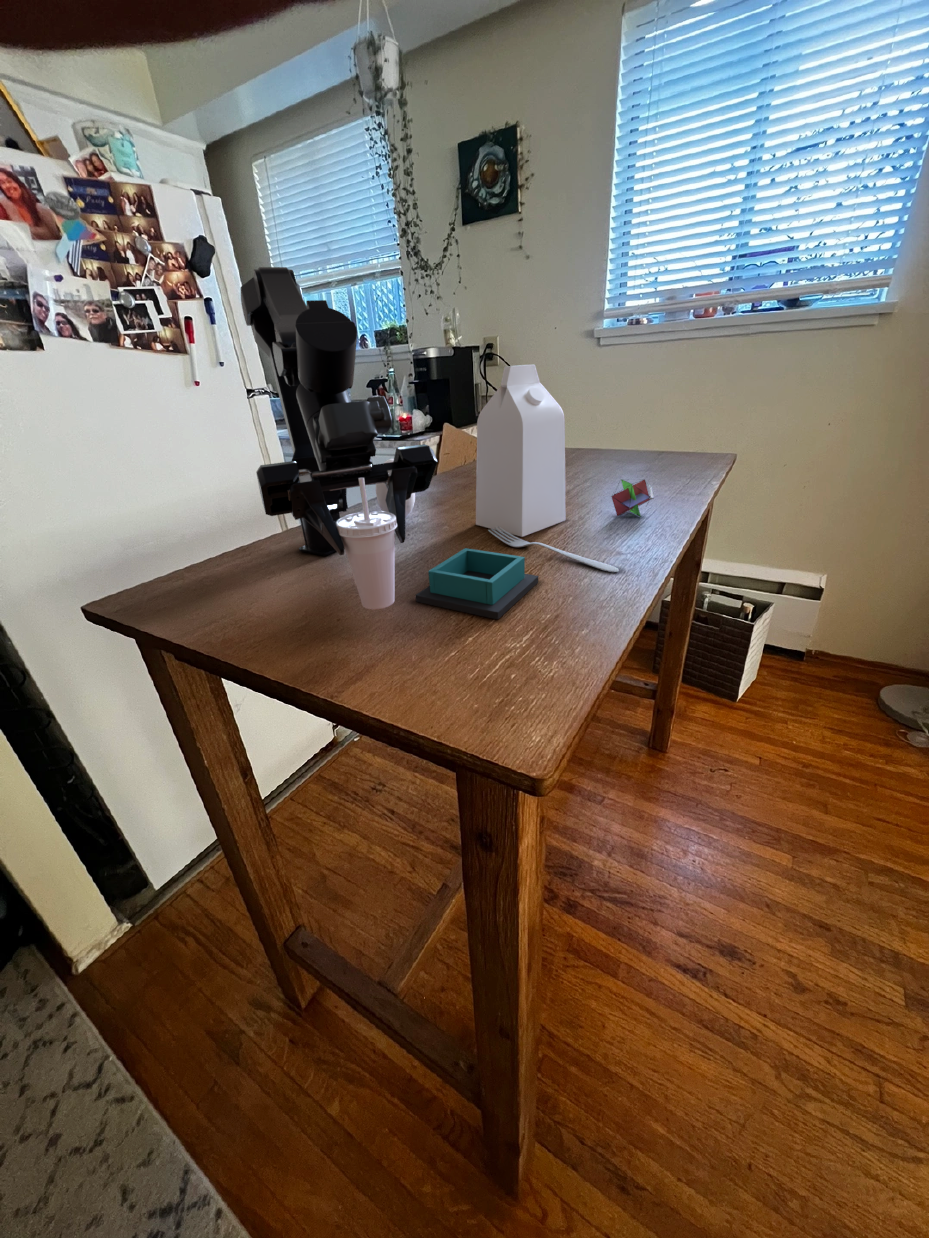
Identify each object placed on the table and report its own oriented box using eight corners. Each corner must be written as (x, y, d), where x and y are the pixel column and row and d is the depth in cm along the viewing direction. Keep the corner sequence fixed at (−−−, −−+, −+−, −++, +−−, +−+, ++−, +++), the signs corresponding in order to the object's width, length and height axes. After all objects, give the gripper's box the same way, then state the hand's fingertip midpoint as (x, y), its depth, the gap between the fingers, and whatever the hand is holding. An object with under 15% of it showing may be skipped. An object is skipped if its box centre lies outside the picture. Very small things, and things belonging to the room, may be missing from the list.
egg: (377, 527, 95) (368, 463, 90) (382, 516, 102) (374, 456, 96) (416, 524, 95) (409, 461, 90) (419, 514, 102) (412, 454, 96)
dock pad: (415, 601, 65) (412, 573, 63) (463, 569, 74) (461, 543, 72) (498, 620, 59) (497, 589, 57) (538, 582, 68) (538, 554, 66)
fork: (611, 575, 69) (612, 563, 68) (486, 540, 85) (486, 530, 84) (624, 568, 71) (625, 556, 70) (499, 535, 87) (499, 525, 86)
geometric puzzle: (612, 511, 88) (641, 472, 86) (595, 502, 94) (622, 464, 92) (639, 531, 91) (668, 493, 89) (621, 521, 97) (648, 485, 95)
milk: (519, 510, 100) (518, 364, 88) (565, 520, 92) (571, 362, 80) (475, 524, 93) (468, 368, 81) (522, 536, 86) (521, 366, 73)
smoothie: (359, 620, 53) (336, 488, 47) (343, 598, 58) (320, 476, 52) (415, 605, 56) (400, 478, 49) (394, 585, 61) (379, 467, 54)
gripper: (232, 376, 46) (274, 524, 42) (423, 363, 52) (474, 490, 49) (248, 453, 56) (283, 578, 52) (406, 434, 62) (447, 544, 59)
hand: (373, 547), depth 53 cm, fingers closed on smoothie, 6 cm apart
